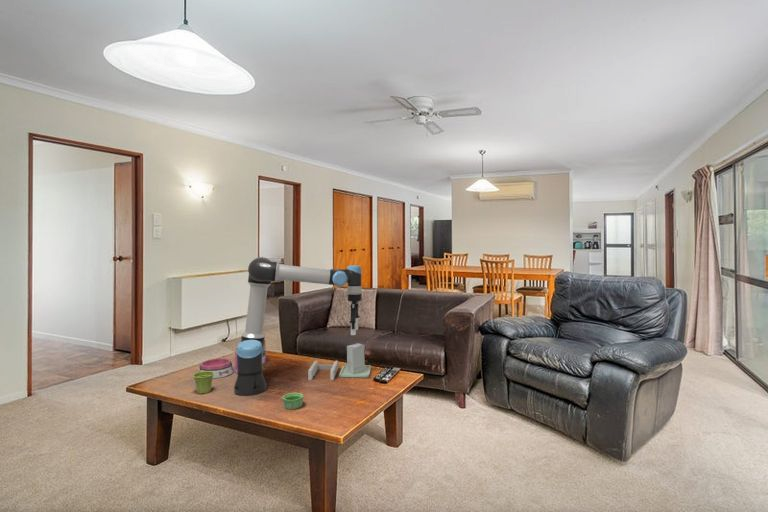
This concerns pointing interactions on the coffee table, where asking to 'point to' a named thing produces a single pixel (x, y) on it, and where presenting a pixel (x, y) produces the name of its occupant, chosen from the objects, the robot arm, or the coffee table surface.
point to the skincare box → (355, 358)
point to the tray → (358, 375)
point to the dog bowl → (217, 367)
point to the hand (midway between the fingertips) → (354, 332)
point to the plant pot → (203, 381)
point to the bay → (317, 366)
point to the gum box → (262, 357)
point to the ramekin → (292, 400)
